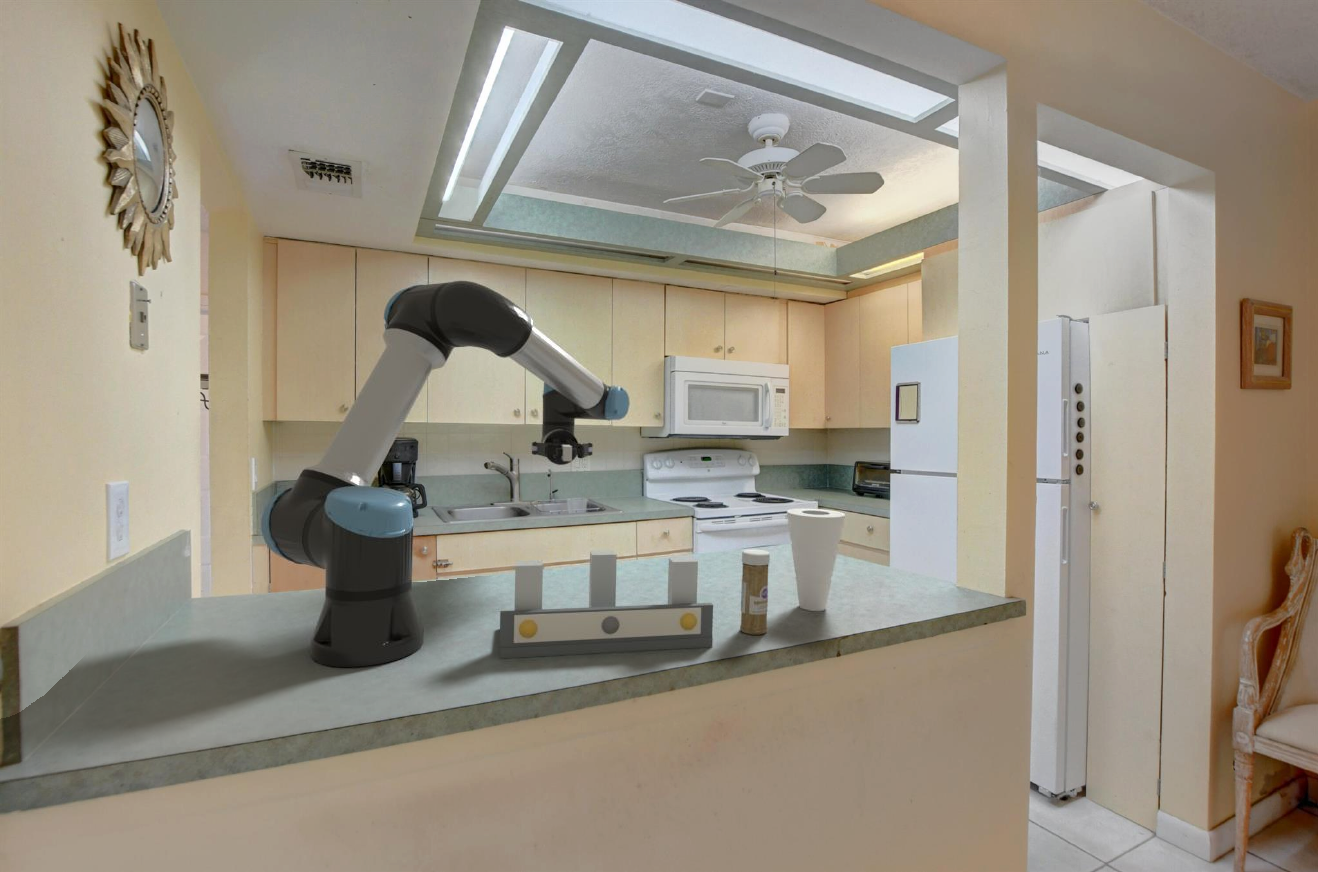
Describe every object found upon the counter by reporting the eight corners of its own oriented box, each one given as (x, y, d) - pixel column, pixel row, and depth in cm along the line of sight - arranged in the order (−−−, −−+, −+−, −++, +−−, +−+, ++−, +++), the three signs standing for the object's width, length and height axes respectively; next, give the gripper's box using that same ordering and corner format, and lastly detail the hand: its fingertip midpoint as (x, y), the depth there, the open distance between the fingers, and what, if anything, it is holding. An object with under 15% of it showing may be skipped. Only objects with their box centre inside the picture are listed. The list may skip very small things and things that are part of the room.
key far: (671, 631, 99) (673, 562, 98) (667, 625, 102) (668, 557, 101) (695, 630, 100) (697, 561, 99) (690, 624, 103) (692, 557, 102)
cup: (773, 601, 123) (776, 509, 122) (819, 596, 126) (822, 507, 126) (804, 618, 113) (807, 518, 112) (853, 613, 116) (857, 516, 116)
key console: (499, 659, 91) (500, 614, 90) (502, 628, 104) (502, 588, 103) (712, 647, 97) (714, 605, 97) (690, 619, 110) (691, 582, 110)
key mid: (590, 622, 102) (592, 555, 102) (588, 616, 105) (590, 551, 105) (615, 621, 103) (616, 554, 103) (612, 615, 106) (614, 550, 105)
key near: (514, 639, 94) (515, 566, 93) (514, 632, 97) (515, 561, 96) (541, 638, 94) (542, 565, 94) (540, 631, 97) (542, 560, 97)
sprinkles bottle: (761, 637, 102) (764, 555, 102) (735, 632, 105) (737, 551, 104) (771, 629, 106) (773, 550, 106) (745, 624, 109) (748, 547, 108)
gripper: (589, 463, 142) (602, 474, 118) (530, 463, 139) (531, 473, 116) (590, 430, 141) (603, 434, 118) (530, 429, 139) (532, 432, 115)
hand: (567, 453), depth 117 cm, fingers closed
